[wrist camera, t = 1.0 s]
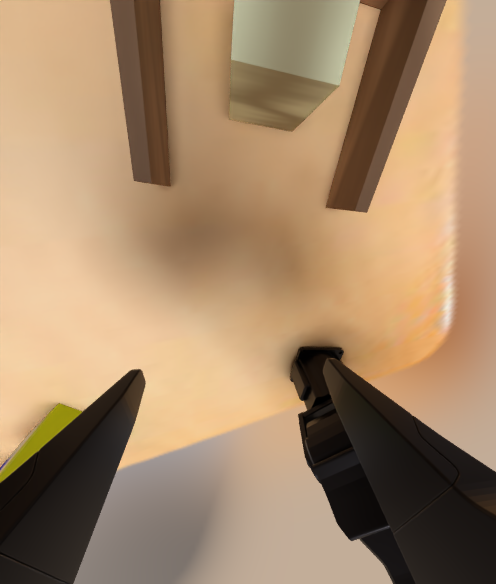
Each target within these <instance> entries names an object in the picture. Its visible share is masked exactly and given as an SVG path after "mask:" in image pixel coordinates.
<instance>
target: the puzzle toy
mask: <svg viewBox="0 0 496 584" xmlns="http://www.w3.org/2000/svg"><path fill="white" fill-rule="evenodd" d="M81 413H82V411H79V410H76V409H74V408H71V407H68V406H65V405H62V404H60V403H59V404H58V405H57V406H56V407H55V408H54V409H53V410H52V411H51V412H50V413H49V414H48V415H47V416H46V417H45V418H44V419H43V420H42V421H41V422H40V423H39V424H38V425H37V426H36V427H35V428H34V429H33V430H32V431H31V432H30V433H29V434H28V435H27V436H26V437H25V439H24V440H23V441H22V442H21V443H20V445H19V446H18V447H17V448H16V449H15V451H14V452H13V453H12V454H11V455H10V457H9V458H8V459H7V460H6V461H5V463H4V464H3V465H2V466H1V467H0V482H2V481H3V480H4V479H5V478H6V477H8V476H9V475H10V474H11V473H12V472H14V471H15V470H16V469H17V468H18V467H19V466H21V465H22V464H23V463H24V462H25V461H26V460H28V459H29V458H30V457H31V456H32V455H33V454H35V453H36V452H37V451H39V450H40V448H42V447H43V446H44V445H45V444H46V443H47V442H48V441H50V440H51V439H52V438H53V437H54V436H55V435H57V434H58V433H59V432H60V431H61V430H62V429H63V428H65V427H66V426H67V425H68V424H69V423H70V422H71V421H73V420H74V419H75V418H76V417H77V416H78V415H80V414H81Z"/></svg>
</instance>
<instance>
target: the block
mask: <svg viewBox="0 0 496 584" xmlns="http://www.w3.org/2000/svg"><path fill="white" fill-rule="evenodd" d="M359 3H360V0H234V13H233V32H232V50H231V73H230V102H229V119H230V120H235V121H240V122H245V123H250V124H255V125H260V126H265V127H271V128H276V129H281V130H286V131H291V132H292V131H293V130H294V129H295V128H296V127H297V126H298V125H299V124H300V123H302V122H303V121H304V120H305V119H306V118H307V117H308V116H309V115H310V114H311V113H312V112H313V111H314V110H315V109H316V108H317V107H318V106H319V105H320V104H321V103H322V102H323V101H324V100H325V99H326V98H327V97H328V96H329V95H330V94H331V93H332V92H333V91H334V90H335V89H336V88H337V87H338V86H339V85H340V81H341V77H342V73H343V69H344V64H345V60H346V56H347V52H348V48H349V44H350V40H351V36H352V32H353V28H354V24H355V19H356V15H357V11H358V7H359Z"/></svg>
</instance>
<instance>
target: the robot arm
mask: <svg viewBox="0 0 496 584" xmlns="http://www.w3.org/2000/svg"><path fill="white" fill-rule="evenodd" d="M343 353H344V351H343V349H342V348H313V347H302V348H300V349H299V351H298V354H297V357H296V360H295V362H294V364H293V367H292V371H291V376H290V380H291V381H292V382H294V385H295V387H296V390H297V393H298V396H299V398H300V400H301V401H304V402H305V405H306V408H307V411H306V412H303V413H300V414H298V417H299V425H300V431H301V436H302V443H303V449H304V454H305V458H306V461H307V464H308V466H309V467H310V468H311V470H312V472H313V474H314V476H315V477H316V479H317V480H318V481H319V483H321V484H322V487H323V489H324V491H325V493H326V496H327V498H328V501H329V503H330V506H331V509H332V511H333V514H334V517H335V519H336V522H337V524H338V525H339V527H340V528H341V530H342V531H343V532H344V533H345V535H346V536H347V537H348V539H350V540H351V541H354V540H357V539H360V540H361V541H362V543H363V544H364V545H365V546H366V547H367V548H368V549H369V550H370V551H371V552H372V553H373V554H374V555H375V556H376V557H377V558H378V559H379V560H380V561H381V562H382V563H383V565H384V566H385V568H386V570H387V572H388V574H389V576H390V578H391V580H392V582H393V584H496V472H495V471H493V470H492V469H490V468H489V467H487V466H486V465H484V464H483V463H481V462H480V461H478V460H477V459H475V458H474V457H472V456H471V455H469V454H468V453H466V452H465V451H463V450H461V449H460V448H459V447H457V446H455V445H454V444H453V443H451V442H450V441H448V440H447V439H445V438H444V437H442V436H441V435H439V434H438V433H436V432H435V431H434V430H432V429H431V428H429V427H428V426H427V425H425V424H424V423H422V422H421V421H420V420H418V419H417V418H416V417H414V416H412V415H411V414H410V413H409V412H407V411H406V410H405V409H403V408H402V407H401V406H399V405H398V404H397V403H395V402H394V401H392V400H391V399H390V398H388V397H387V396H386V395H384V394H383V393H381V392H380V391H379V390H378V389H376V388H375V387H373V386H372V385H371V384H369V383H368V382H367V381H365V380H364V379H363V378H361V377H360V376H358V375H357V374H356V373H354V372H353V371H352V370H350V369H349V368H348V367H346V366H345V365H344V364H343V363H342V362H341V360H340V359H341V357H342V355H343ZM144 388H145V378H144V375H143V372H142V370H141V369H134V370H131V371H129V372H128V373H127V374H126V375H125V376H123V377H122V378H121V379H120V380H119V381H118V382H116V383H115V384H114V385H113V386H112V387H111V388H110V389H108V390H107V391H106V392H105V393H104V394H103V395H101V396H100V397H99V398H98V399H97V400H96V401H95V402H93V403H92V404H91V405H90V406H89V407H88V408H86V409H85V410H84V411H83V412H82V413H81V414H80V415H78V416H77V417H76V418H75V419H74V420H73V421H71V422H70V423H69V424H68V425H67V426H66V427H65V428H63V429H62V430H61V431H60V432H59V433H58V434H57V435H55V436H54V437H53V438H52V439H51V440H50V441H48V442H47V443H46V444H45V445H44V446H43V447H42V448H40V450H39V451H37V452H36V453H35V454H33V455H32V456H31V457H30V458H29V459H28V460H26V461H25V462H24V463H23V464H22V465H21V466H19V467H18V468H17V469H16V470H15V471H14V472H12V473H11V474H10V475H9V476H8V477H6V478H5V479H4V480H3V481H2V482H0V584H73V583H74V580H75V578H76V575H77V573H78V570H79V567H80V565H81V562H82V559H83V557H84V554H85V552H86V549H87V546H88V544H89V541H90V539H91V536H92V533H93V531H94V528H95V525H96V523H97V520H98V518H99V515H100V513H101V510H102V507H103V504H104V502H105V499H106V497H107V494H108V492H109V489H110V486H111V484H112V481H113V478H114V476H115V473H116V471H117V468H118V466H119V463H120V460H121V458H122V455H123V453H124V450H125V447H126V445H127V442H128V439H129V437H130V434H131V432H132V429H133V426H134V423H135V421H136V417H137V414H138V410H139V406H140V403H141V399H142V395H143V392H144Z"/></svg>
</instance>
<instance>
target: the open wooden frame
mask: <svg viewBox="0 0 496 584" xmlns="http://www.w3.org/2000/svg"><path fill="white" fill-rule="evenodd" d="M110 3H111V11H112V18H113V26H114V33H115V41H116V48H117V56H118V64H119V71H120V79H121V86H122V94H123V101H124V109H125V116H126V124H127V132H128V139H129V147H130V154H131V162H132V169H133V177H134V181H138V182H144V183H150V184H156V185H163V186H170V169H169V152H168V134H167V117H166V100H165V82H164V65H163V48H162V30H161V13H160V0H110ZM360 3H364V4H367V5H370V6H373V7H376V8H379V9H381V12H380V15H379V19H378V23H377V26H376V30H375V33H374V37H373V40H372V44H371V48H370V51H369V55H368V58H367V62H366V65H365V69H364V73H363V76H362V80H361V83H360V87H359V90H358V94H357V98H356V101H355V105H354V108H353V112H352V115H351V119H350V123H349V126H348V130H347V133H346V137H345V140H344V144H343V148H342V151H341V155H340V158H339V162H338V166H337V169H336V173H335V176H334V180H333V183H332V187H331V191H330V194H329V198H328V201H327V205H326V208H333V209H341V210H349V211H358V212H366V213H367V211H368V209H369V206H370V203H371V201H372V198H373V195H374V193H375V190H376V187H377V185H378V182H379V179H380V177H381V174H382V171H383V169H384V166H385V163H386V161H387V158H388V155H389V153H390V150H391V147H392V145H393V142H394V139H395V137H396V134H397V131H398V129H399V126H400V123H401V121H402V118H403V115H404V113H405V110H406V107H407V105H408V102H409V99H410V96H411V94H412V91H413V88H414V86H415V83H416V80H417V78H418V75H419V72H420V70H421V67H422V64H423V62H424V59H425V56H426V54H427V51H428V48H429V46H430V43H431V40H432V38H433V35H434V32H435V30H436V27H437V24H438V22H439V19H440V16H441V14H442V11H443V8H444V6H445V3H446V0H360Z"/></svg>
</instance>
